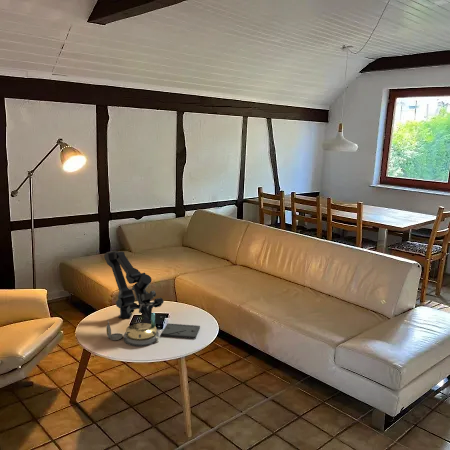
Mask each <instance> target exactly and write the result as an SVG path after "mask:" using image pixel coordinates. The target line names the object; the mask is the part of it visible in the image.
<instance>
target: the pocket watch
mask: <svg viewBox="0 0 450 450" xmlns="http://www.w3.org/2000/svg"><path fill="white" fill-rule="evenodd" d="M106 321H107V324H106V334H107V338H108V339H109V340H112V341H120V340H121V339H123V338H124V335H123V334H122V333H118V332H117V333H112V329H111V326H110V321H109V320H106Z"/></svg>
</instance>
